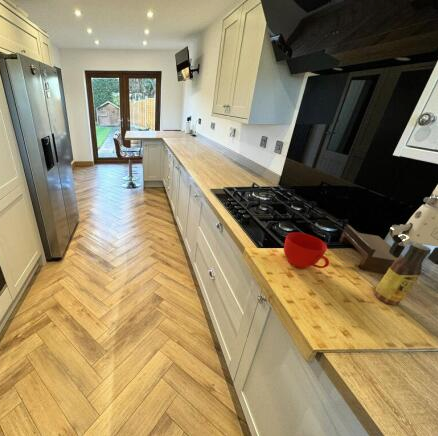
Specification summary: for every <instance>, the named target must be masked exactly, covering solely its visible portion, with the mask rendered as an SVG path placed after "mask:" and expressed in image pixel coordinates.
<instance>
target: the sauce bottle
mask: <svg viewBox="0 0 438 436" xmlns="http://www.w3.org/2000/svg"><path fill="white" fill-rule="evenodd" d="M431 252H432V249H431V248H430V247H429V246H427V245H424V244H418V243H414V242H411V244H410V245H409V247H408V249H407V251H406V253H405V254H403V257H402V258H398V259H397V260H395V261H394V263H393V264H392V266H391V267H390V268H389V269H388V271H387V273H386V274H384V276H383V277H382V279H381V280H380V282H379V283H378V285H377V286H376V288H375V290H374V296H375V297H376V298H377V299H379V300H380V301H382V302H383V303H386V304H388V305H393V306H397V305H399V304H400V302H402V301H403V300H404V298H405V297H406V296H407V294H408V293H409V292H410V290H411V289H412V288H413V286H414V285H415V283H416V282H417V280H419V278H420V277H421V275H422V268H423V267H422V266H423V262H424V260H425V259H426V257H427V256H429V255H430V254H431Z"/></svg>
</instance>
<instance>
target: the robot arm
mask: <svg viewBox="0 0 438 436" xmlns="http://www.w3.org/2000/svg"><path fill="white" fill-rule="evenodd" d="M422 201H423V202H424V203H425V204H424V203H423V204H422V205H421V206H419V208H418V209H416V211H415V212H413V214H412V215H411V216H410V218H409V219H408V221H407V222H406V223H405V224H403V225H402V224H401V225H397V226H392V227H390V228H389V232H390V237H391V239H392V241H393V243H392V244H391V245H390V246H391V248H390V251H389V253H390V254H391V255H393V256H394V257H395V258H398V257H399V256H400V254H401V255H402V252H403V251H404V250H405V245H406V244H409V243H417V244H421V245H424V246H432V247H434V248H433V249H432V250H431V252H430V253H429V254H428V257H427V259H428V260H429V261H430V262H432V263H433V264H435V265H438V184H437V185H436V187H434V189H433V191H432V193H431V195H430V196H429V197H428V196H426V197H424V198H423V200H422ZM399 233H401V234H399Z"/></svg>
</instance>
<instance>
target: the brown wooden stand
mask: <svg viewBox="0 0 438 436" xmlns="http://www.w3.org/2000/svg"><path fill="white" fill-rule="evenodd" d="M338 242H339V243H340V244H345V245H352V246H353V247H354V248H355V249H356V250H357V251H358V252H359V253H360V254H361V255H362V256H363V257H362V258H361V260H360V262H359V264H358V266H357V268H358V269H359V270H360V271H364V272H369V273H376V274H380V275H385V274H386V273H387V271H388V269H389V268H390V267H391V266H392V264H393V263H394V261H395V260H397V259H398V258H402V257H404V255H402V253H401V254H400V256H399V257H398V258H395V257H394V256H393V255H391V254H390V253H389V251H390V248H391V246H392V245H390V244H389V243H388V242H387V241H385V240H384V239H383V238H381V236H379V235H374V234H369V233H361V232H358V231H357V230H356V229H355V228H353V227H352V226H351V225H350V224H345V227H344V229H343V231H342V234H341V235H340V237H339V240H338Z"/></svg>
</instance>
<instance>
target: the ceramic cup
mask: <svg viewBox="0 0 438 436" xmlns="http://www.w3.org/2000/svg"><path fill="white" fill-rule="evenodd" d="M327 250H328V246H327V244H326V243H325V242H324V241H323V240H322V239H320V238H319V237H316V236H314V235H311V234H308V233H303V232H289V233H287V235H286V237H285V240H284V244H283V253H284V256H285V258H286V260H287V262H288V263H289V264H290V265H291V266H293V267H296V268H298V269H306V268H310V267H311V266H312V267H314V268H317V269H326V268H327V267H328V266H329V265H330V260H329V258H328V257H327V256H325V254H326V251H327ZM321 259H322V260H324V262H325V263H324V265H318V264H317V263H318V262H319V261H320V260H321Z"/></svg>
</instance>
